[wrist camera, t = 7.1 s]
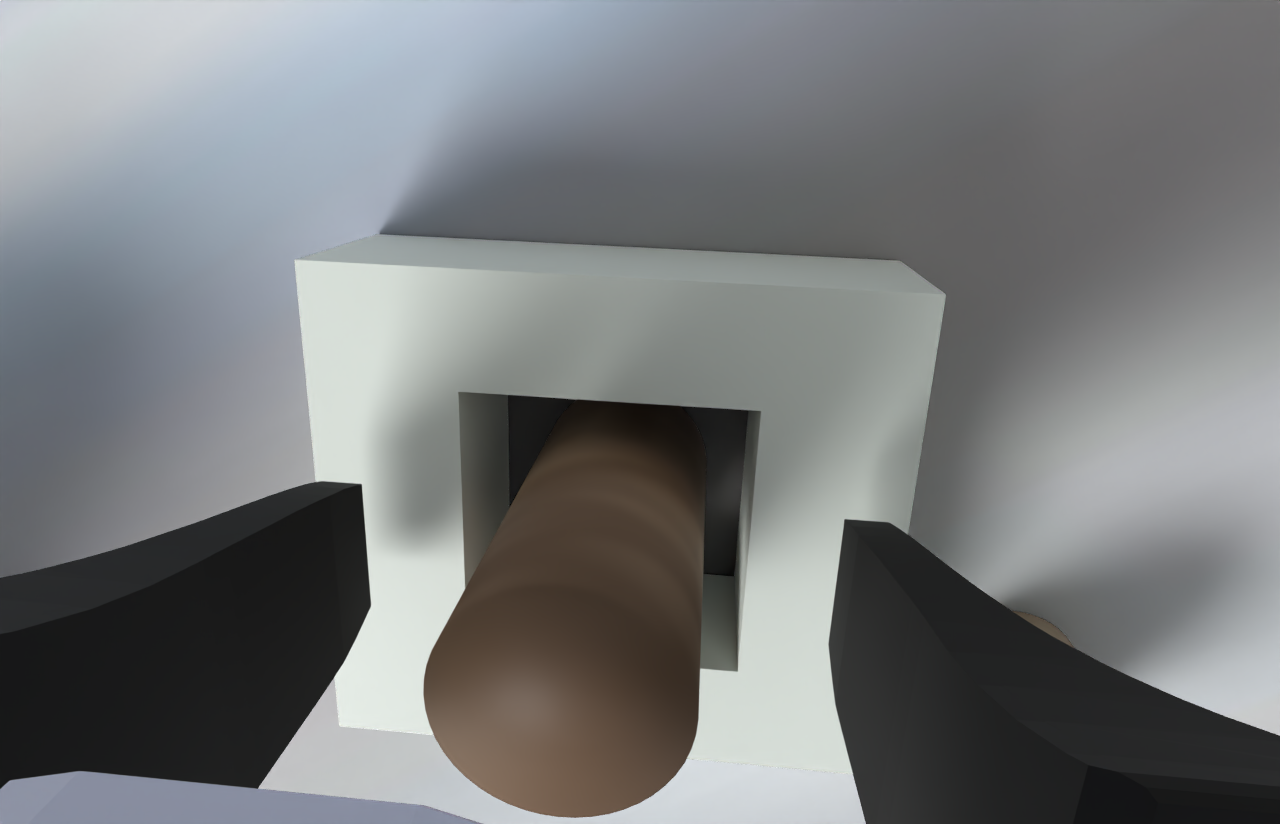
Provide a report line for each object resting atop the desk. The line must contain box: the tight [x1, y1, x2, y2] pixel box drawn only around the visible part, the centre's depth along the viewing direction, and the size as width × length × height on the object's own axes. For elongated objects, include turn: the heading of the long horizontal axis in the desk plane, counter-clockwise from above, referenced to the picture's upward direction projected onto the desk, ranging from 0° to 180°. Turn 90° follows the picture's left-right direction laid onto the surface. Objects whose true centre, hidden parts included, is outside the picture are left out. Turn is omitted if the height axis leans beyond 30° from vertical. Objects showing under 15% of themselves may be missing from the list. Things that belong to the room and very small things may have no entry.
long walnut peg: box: [423, 399, 707, 818], centre depth 12 cm, size 3×3×7 cm
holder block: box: [294, 234, 946, 775], centre depth 14 cm, size 9×8×3 cm
